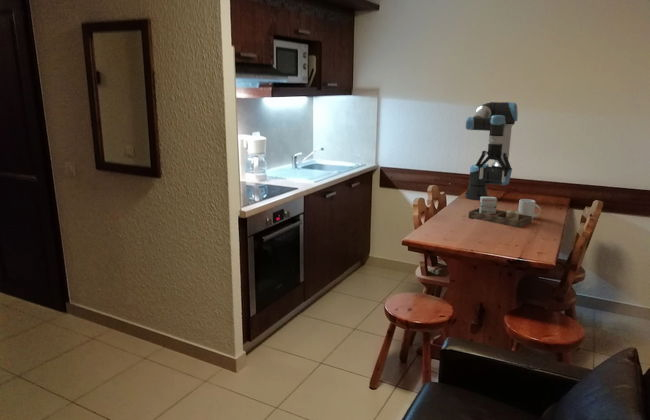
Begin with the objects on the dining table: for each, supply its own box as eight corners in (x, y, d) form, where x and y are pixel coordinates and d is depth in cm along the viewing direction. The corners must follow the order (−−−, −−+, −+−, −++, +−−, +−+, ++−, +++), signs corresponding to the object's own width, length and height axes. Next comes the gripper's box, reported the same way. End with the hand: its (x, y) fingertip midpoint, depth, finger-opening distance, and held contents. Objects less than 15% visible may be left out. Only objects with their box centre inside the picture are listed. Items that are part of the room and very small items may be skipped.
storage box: (468, 217, 279) (469, 211, 278) (481, 213, 290) (482, 206, 289) (519, 228, 259) (520, 221, 258) (531, 223, 270) (532, 216, 269)
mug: (537, 222, 272) (539, 203, 269) (515, 218, 279) (517, 200, 276) (541, 219, 279) (543, 201, 276) (519, 215, 285) (521, 198, 283)
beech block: (505, 222, 268) (506, 212, 267) (507, 220, 273) (508, 209, 272) (516, 224, 265) (517, 213, 264) (518, 221, 270) (519, 211, 269)
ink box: (493, 216, 281) (495, 196, 279) (495, 218, 277) (497, 198, 274) (478, 215, 282) (480, 196, 279) (480, 217, 278) (482, 197, 275)
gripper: (471, 141, 276) (468, 178, 282) (514, 146, 259) (510, 184, 265) (478, 140, 281) (475, 176, 287) (520, 144, 264) (515, 182, 270)
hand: (491, 180), depth 276 cm, fingers open, 13 cm apart
